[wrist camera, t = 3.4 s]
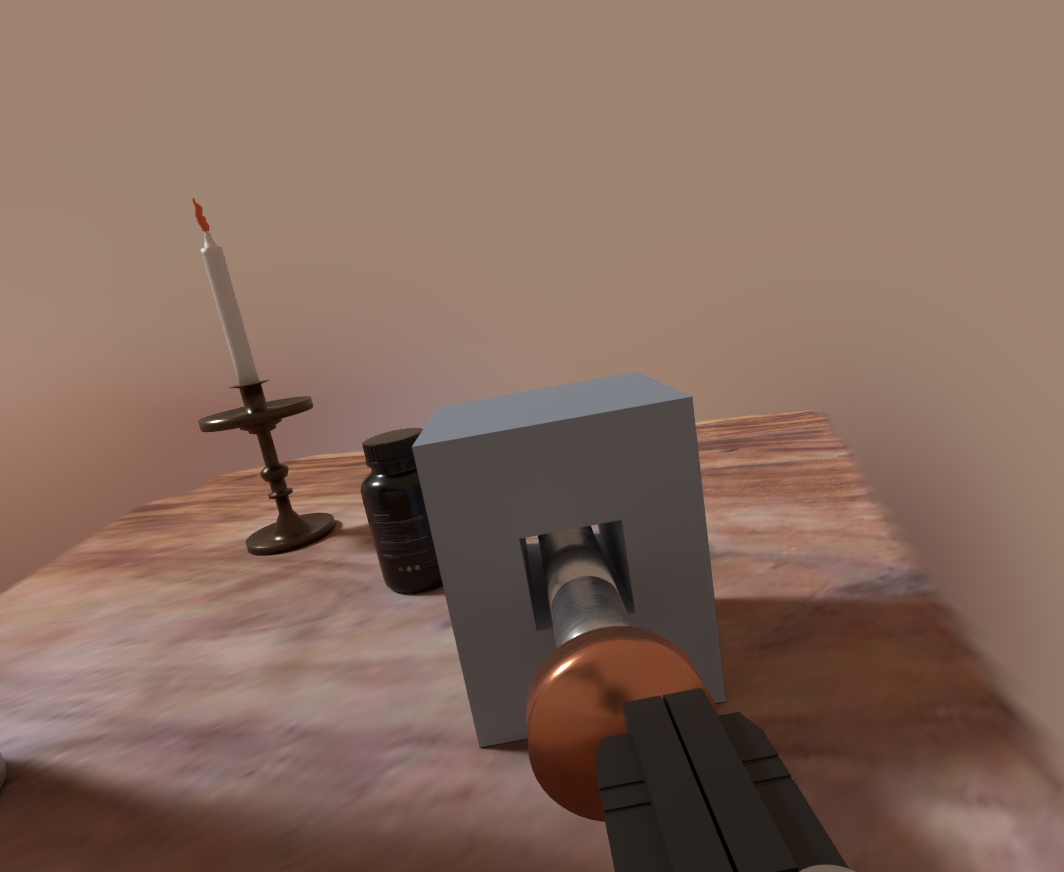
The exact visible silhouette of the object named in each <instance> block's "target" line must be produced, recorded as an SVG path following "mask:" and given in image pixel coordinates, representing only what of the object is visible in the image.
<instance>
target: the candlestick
mask: <svg viewBox="0 0 1064 872" xmlns="http://www.w3.org/2000/svg"><path fill="white" fill-rule="evenodd" d="M192 200H193V203H194V205H195V216H196V218H197V221H198V223H199V225H200V226H201V228H202V230H203V231H206V233H205V234H204V237H205V248H203V249H201V252H202V256H203V260H204V263H205V267H206V270H207V274H208V277H209V281H210V284H211V288H212V291H213V294H214V298H215V301H216V305H217V308H218V312H219V315H220V319H221V322H222V325H223V329H224V333H225V336H226V340H227V343H228V346H229V350H230V353H231V357H232V361H233V364H234V368H235V371H236V375H237V378H238V381H239V385H237V386H233V387H229V388H239V389H240V392H241V396H242V399H243V403H244V406H245V407H241V408H237V409H233V410H229V411H225V412H221V413H218V414H214V415H211V416H208V417H205V418H202V419H200V420H198V422H199V426H200V429H201V431H202V432H215V431H223V430H229V429H235V428H240V430H246V431H248V432H249V434H257V437H258V441H259V444H260V448H261V451H262V455H263V458H264V462H265V465H266V467H265V468H264V469H263V470H262V471H261V472H260V475H261V477H262V478H263V479H264V481H265V482H269V483H270V487H271V490H272V492H271V493H269V494H268V496H269V498H270V499H275V501H276V504H277V508H278V511H279V515H278V518H277V521H276V523H273V524H271V525H269V526H266V527H264V528H262V529H260V530H258V531H257V532H255V533H253V534H252V535H251V536H250V537H249V538H248V539H247V540H246V545H247V548H248V551H249V553H251V554H253V555H272V554H279V553H283V552H288V551H291V550H295V549H298V548H301V547H304V546H306V545H309V544H311V543H314V542H316V541H318V540H320V539H322V538H323V537H325V536H327V535H328V534H329V533H330V532H332V531H333V529H334V528H335V522H334V518H333V516H332V515H331V514H328V513H312V514H305V515H300V516H299V515H298V514H297V513H296V512H295V511H293V510H292V507H291V503H290V500H289V496H288V495H289V494H291V493H292V492H293V490H292V488H287V485H286V482H285V477H287V475H288V470H289V469H288V467H287V465H284V464H280V463H279V461H278V457H277V454H276V450H275V447H274V443H273V440H272V436H271V432H270V431H271V430H273V429H275V428H276V424H277V423H279V422H280V421H282V419H281V418H285V417H288V416H292V415H295V414H298V413H302V412H304V411H307V410H309V409H311V408H313V403H312V400H311V397H309V396H305V397H295V398H287V399H281V400H275V401H270V402H266V400H265V397H264V393H263V389H262V386H261V384H262V383H264V382H266V381H269V380H263V381H259V379H258V375H257V372H256V369H255V365H254V361H253V358H252V354H251V350H250V347H249V343H248V340H247V336H246V332H245V329H244V325H243V322H242V318H241V315H240V311H239V307H238V304H237V300H236V297H235V293H234V290H233V286H232V282H231V279H230V275H229V272H228V268H227V264H226V261H225V257H224V254H223V250H222V247H217V246H216V244H215V242H214V240H213V239H212V237H211V234H210V233H207V231H209V225H208V223H207V222H206V218H205V217H204V216H202V207H201V206H200V205H198V204H197V203H196V202H195V199H194V198H193V199H192Z"/></svg>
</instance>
